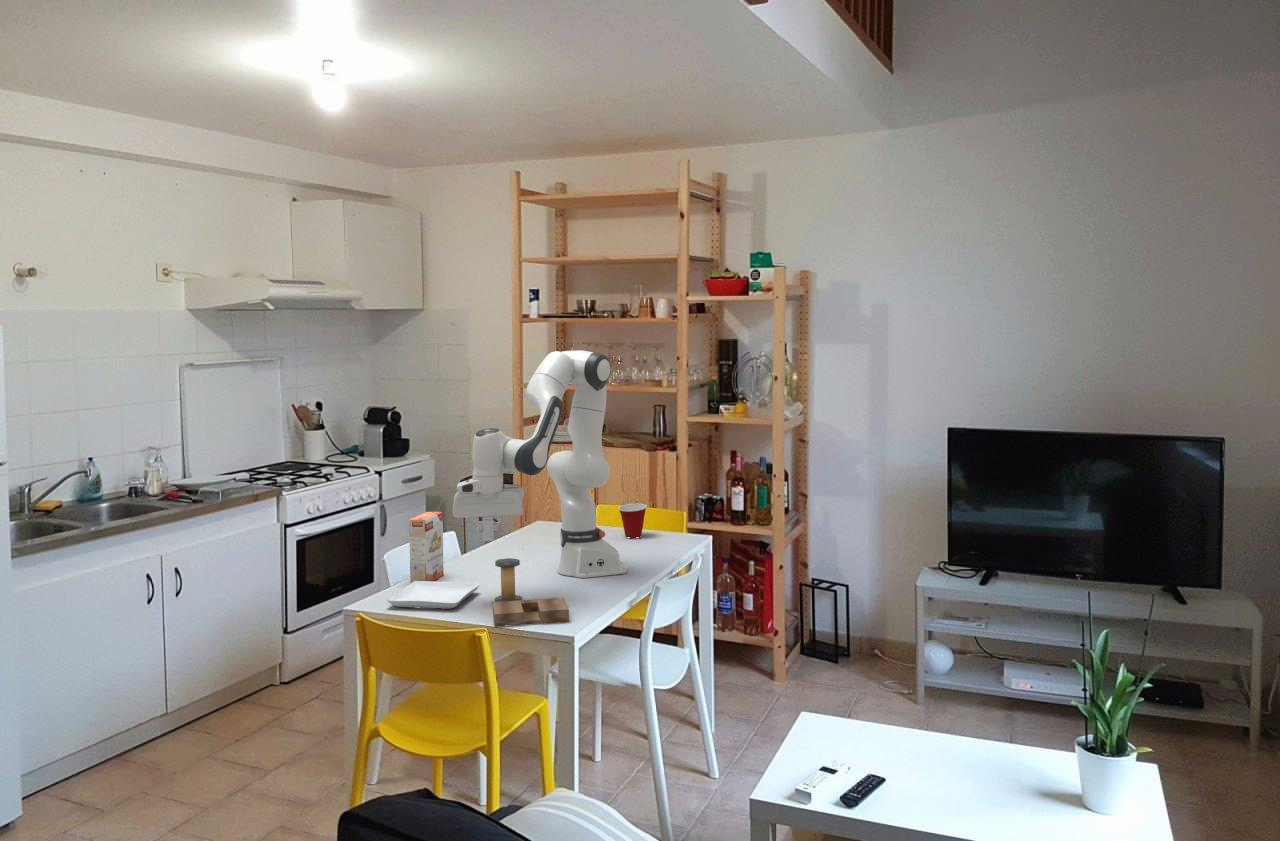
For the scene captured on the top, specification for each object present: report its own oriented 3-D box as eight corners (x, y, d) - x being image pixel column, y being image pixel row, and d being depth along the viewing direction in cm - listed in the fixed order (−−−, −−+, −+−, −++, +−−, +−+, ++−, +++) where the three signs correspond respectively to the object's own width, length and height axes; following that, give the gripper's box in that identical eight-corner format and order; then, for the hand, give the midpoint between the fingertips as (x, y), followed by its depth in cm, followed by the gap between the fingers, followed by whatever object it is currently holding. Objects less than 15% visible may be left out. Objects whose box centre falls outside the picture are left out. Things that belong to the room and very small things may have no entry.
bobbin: (521, 599, 303) (520, 557, 302) (523, 606, 296) (522, 563, 294) (494, 600, 302) (492, 558, 301) (495, 608, 294) (494, 565, 293)
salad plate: (456, 613, 291) (456, 601, 290) (385, 610, 294) (385, 599, 294) (481, 593, 311) (481, 582, 311) (414, 591, 315) (414, 580, 315)
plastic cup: (612, 537, 387) (611, 506, 386) (633, 533, 394) (633, 502, 393) (631, 542, 379) (631, 509, 378) (653, 537, 386) (652, 505, 385)
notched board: (564, 609, 292) (563, 597, 291) (569, 621, 280) (568, 609, 280) (492, 614, 288) (492, 602, 288) (494, 626, 276) (494, 614, 276)
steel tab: (492, 537, 303) (492, 517, 303) (493, 540, 298) (493, 520, 298) (482, 537, 303) (482, 517, 302) (483, 540, 298) (483, 520, 297)
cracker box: (428, 586, 319) (425, 519, 317) (409, 585, 321) (407, 519, 318) (445, 575, 333) (443, 511, 331) (427, 574, 334) (425, 510, 332)
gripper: (523, 482, 304) (522, 529, 305) (452, 483, 301) (452, 530, 302) (524, 485, 298) (524, 533, 299) (452, 486, 294) (452, 534, 295)
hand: (487, 531), depth 300 cm, fingers closed on steel tab, 3 cm apart
